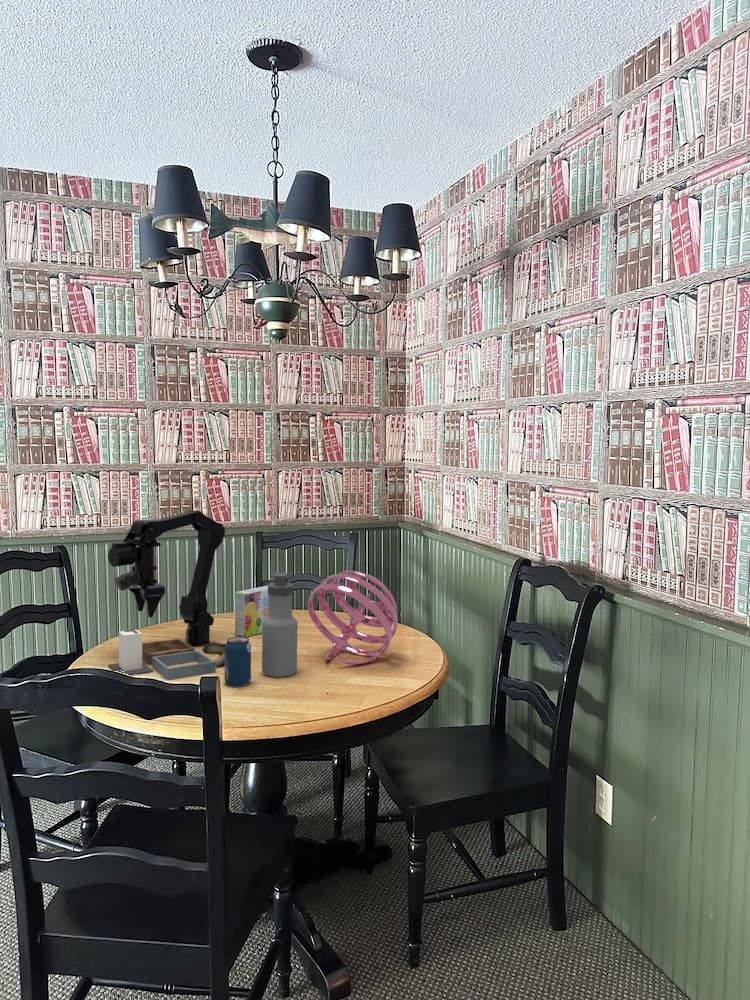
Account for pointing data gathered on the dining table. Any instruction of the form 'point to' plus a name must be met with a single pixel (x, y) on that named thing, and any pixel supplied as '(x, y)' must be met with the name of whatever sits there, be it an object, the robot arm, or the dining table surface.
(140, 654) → the letter block
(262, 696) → the dining table surface
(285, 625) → the water bottle
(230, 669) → the soda can
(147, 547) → the robot arm
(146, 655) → the frame
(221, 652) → the eagle figurine
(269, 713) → the dining table surface
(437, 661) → the dining table surface
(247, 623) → the snack box
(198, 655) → the frame
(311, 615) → the spiral basket
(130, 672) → the dark grey flat slab
